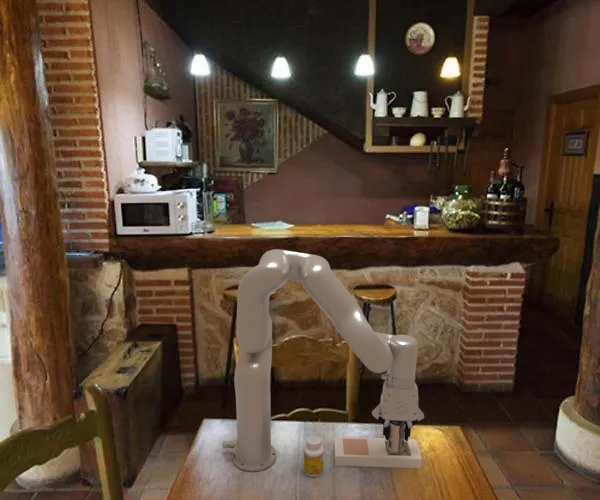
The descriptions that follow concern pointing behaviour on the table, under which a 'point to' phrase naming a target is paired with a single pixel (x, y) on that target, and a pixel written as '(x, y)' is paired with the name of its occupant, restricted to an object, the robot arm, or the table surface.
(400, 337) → the robot arm
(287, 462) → the table surface
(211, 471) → the table surface
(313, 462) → the supplement bottle
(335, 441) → the well board
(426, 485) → the table surface
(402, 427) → the beer can
